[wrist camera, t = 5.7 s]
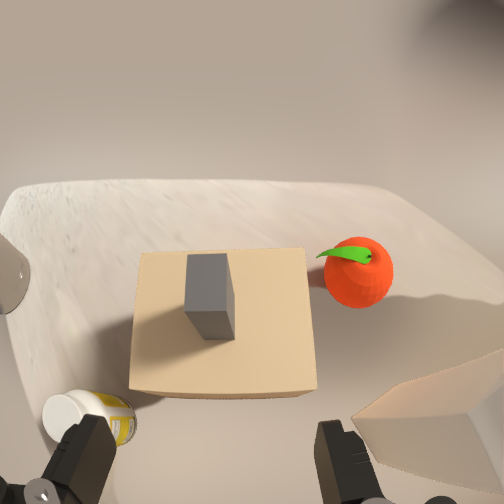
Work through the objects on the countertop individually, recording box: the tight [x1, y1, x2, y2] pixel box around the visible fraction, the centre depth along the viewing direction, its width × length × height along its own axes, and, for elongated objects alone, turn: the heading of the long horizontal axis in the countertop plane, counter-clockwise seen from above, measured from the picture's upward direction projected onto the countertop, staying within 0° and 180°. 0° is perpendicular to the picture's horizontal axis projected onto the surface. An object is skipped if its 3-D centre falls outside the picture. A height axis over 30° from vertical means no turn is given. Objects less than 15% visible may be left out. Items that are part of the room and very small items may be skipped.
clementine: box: [316, 237, 393, 308], centre depth 30 cm, size 8×7×7 cm
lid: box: [129, 248, 317, 394], centre depth 18 cm, size 12×10×7 cm
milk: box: [351, 348, 504, 495], centre depth 16 cm, size 6×6×22 cm
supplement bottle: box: [42, 389, 137, 446], centre depth 22 cm, size 5×5×10 cm
